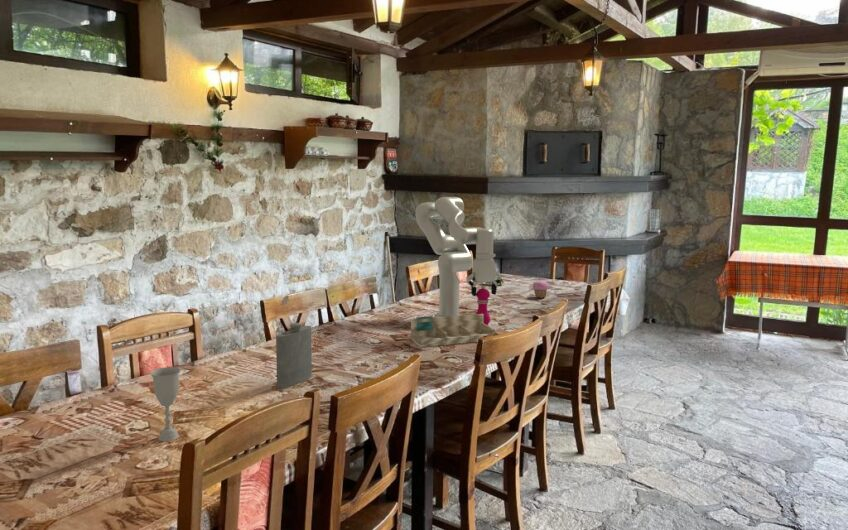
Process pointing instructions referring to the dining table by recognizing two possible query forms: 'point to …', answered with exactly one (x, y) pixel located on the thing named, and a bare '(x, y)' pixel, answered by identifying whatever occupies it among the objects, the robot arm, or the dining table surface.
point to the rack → (448, 330)
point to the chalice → (166, 396)
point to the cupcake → (540, 288)
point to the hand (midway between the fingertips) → (483, 294)
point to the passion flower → (496, 279)
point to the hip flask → (293, 356)
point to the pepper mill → (483, 303)
